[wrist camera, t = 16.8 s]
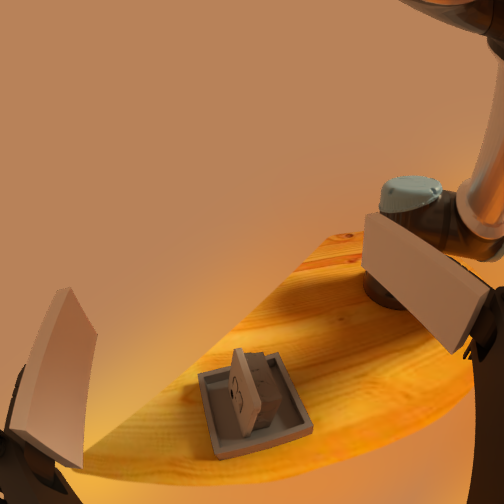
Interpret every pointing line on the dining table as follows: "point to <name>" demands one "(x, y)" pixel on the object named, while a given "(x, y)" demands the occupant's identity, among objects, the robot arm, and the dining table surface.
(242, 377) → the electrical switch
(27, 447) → the robot arm
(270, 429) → the box
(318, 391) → the dining table surface
